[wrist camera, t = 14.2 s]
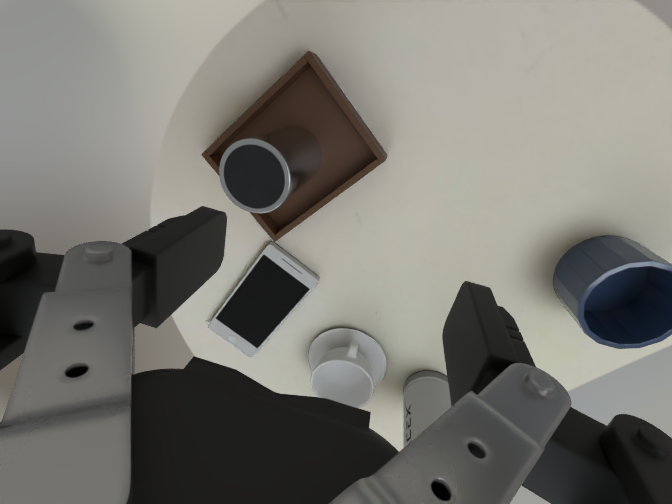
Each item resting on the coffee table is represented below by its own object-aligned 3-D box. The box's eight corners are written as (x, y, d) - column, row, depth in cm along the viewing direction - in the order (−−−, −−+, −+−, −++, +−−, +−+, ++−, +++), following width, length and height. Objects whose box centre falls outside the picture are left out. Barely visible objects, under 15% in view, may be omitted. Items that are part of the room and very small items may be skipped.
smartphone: (209, 322, 47) (206, 327, 46) (271, 240, 41) (268, 243, 40) (253, 354, 48) (251, 359, 47) (321, 278, 42) (319, 282, 41)
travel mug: (464, 402, 45) (504, 606, 27) (413, 412, 47) (419, 607, 29) (448, 364, 43) (479, 555, 25) (396, 375, 45) (391, 561, 27)
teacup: (374, 398, 48) (371, 428, 43) (302, 375, 48) (292, 402, 44) (397, 340, 43) (396, 366, 39) (318, 315, 44) (309, 339, 40)
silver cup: (273, 120, 35) (220, 130, 25) (327, 133, 34) (295, 148, 24) (266, 174, 37) (216, 204, 27) (316, 187, 37) (284, 221, 27)
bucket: (577, 225, 35) (609, 249, 29) (669, 248, 34) (719, 277, 29) (538, 299, 38) (560, 333, 33) (620, 321, 38) (657, 359, 32)
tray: (316, 54, 33) (308, 50, 30) (387, 155, 35) (386, 159, 33) (214, 150, 38) (200, 154, 35) (282, 232, 40) (274, 242, 38)
